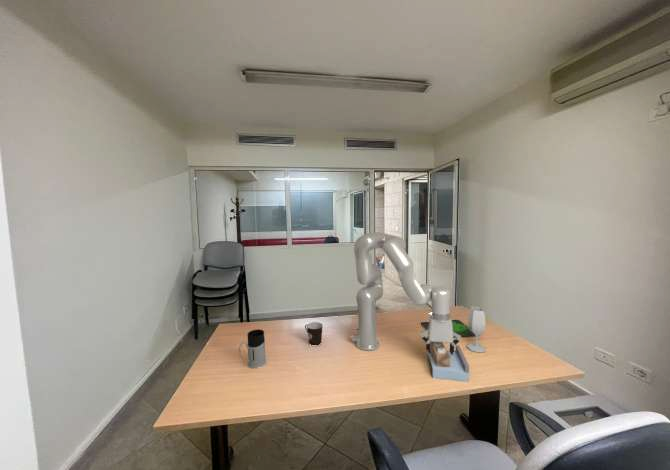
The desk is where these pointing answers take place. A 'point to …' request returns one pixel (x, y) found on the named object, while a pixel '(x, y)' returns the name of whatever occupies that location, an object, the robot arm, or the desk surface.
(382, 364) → the desk surface
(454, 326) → the mouse mat
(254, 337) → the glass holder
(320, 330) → the coffee mug
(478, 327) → the wineglass
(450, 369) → the shelf
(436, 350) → the brown block with knobs
